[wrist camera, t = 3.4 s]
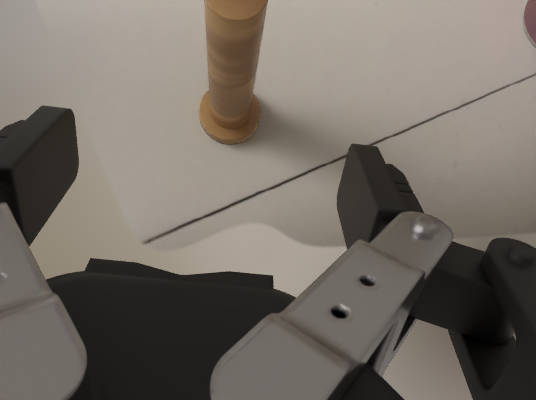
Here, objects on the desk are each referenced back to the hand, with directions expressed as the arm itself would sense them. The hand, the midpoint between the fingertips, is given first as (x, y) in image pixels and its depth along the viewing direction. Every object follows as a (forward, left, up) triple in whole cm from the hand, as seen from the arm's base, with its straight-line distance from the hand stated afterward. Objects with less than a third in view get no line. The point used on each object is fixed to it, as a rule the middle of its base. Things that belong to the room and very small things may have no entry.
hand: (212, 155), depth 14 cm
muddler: (+4, +7, -16) cm, 18 cm away
